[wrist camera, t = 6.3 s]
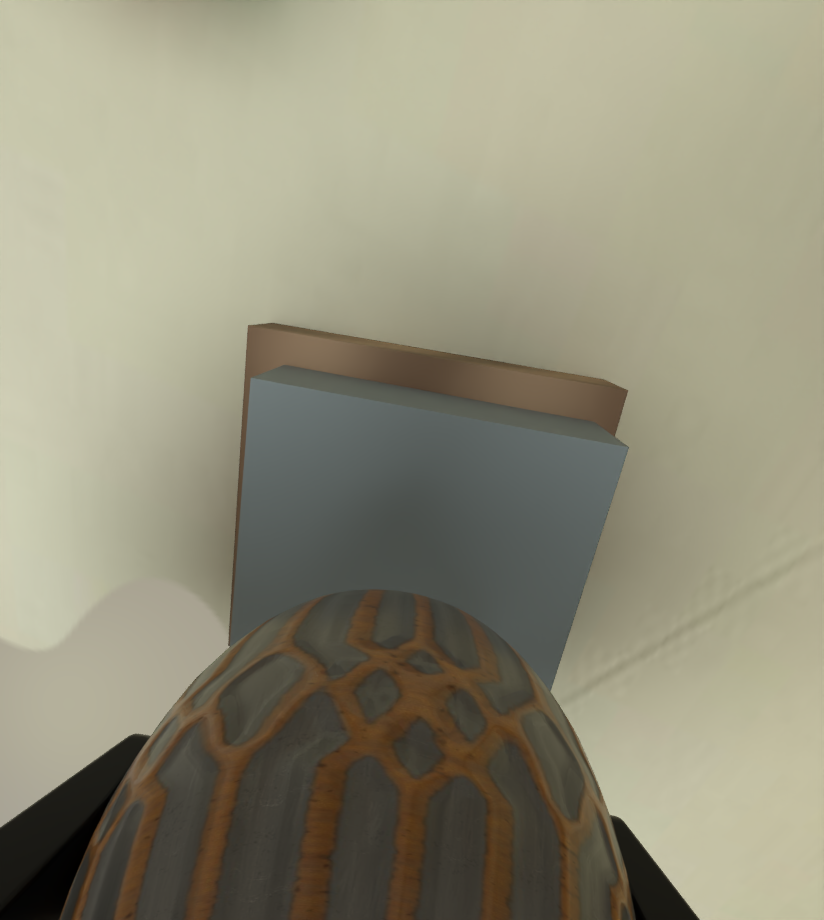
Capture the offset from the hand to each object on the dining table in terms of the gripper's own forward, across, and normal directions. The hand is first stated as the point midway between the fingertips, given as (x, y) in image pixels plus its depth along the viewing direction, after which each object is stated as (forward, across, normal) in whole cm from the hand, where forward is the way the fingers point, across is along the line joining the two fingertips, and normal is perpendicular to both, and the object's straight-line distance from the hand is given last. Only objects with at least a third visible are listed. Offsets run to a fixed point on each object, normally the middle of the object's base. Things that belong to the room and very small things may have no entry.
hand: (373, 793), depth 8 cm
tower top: (+10, 0, 0) cm, 10 cm away
